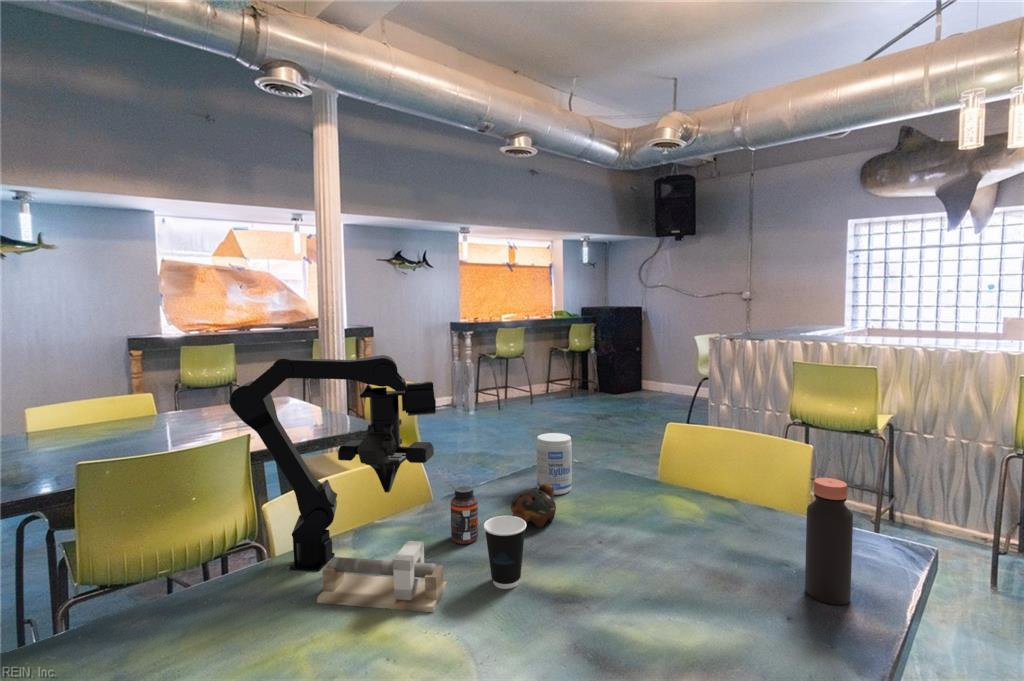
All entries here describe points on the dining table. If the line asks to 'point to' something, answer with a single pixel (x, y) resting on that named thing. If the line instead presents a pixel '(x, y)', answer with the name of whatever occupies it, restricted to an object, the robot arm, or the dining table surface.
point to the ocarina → (535, 505)
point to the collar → (407, 570)
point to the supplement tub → (554, 461)
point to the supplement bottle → (464, 516)
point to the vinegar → (829, 543)
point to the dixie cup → (505, 549)
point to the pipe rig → (378, 585)
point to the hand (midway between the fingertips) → (387, 491)
